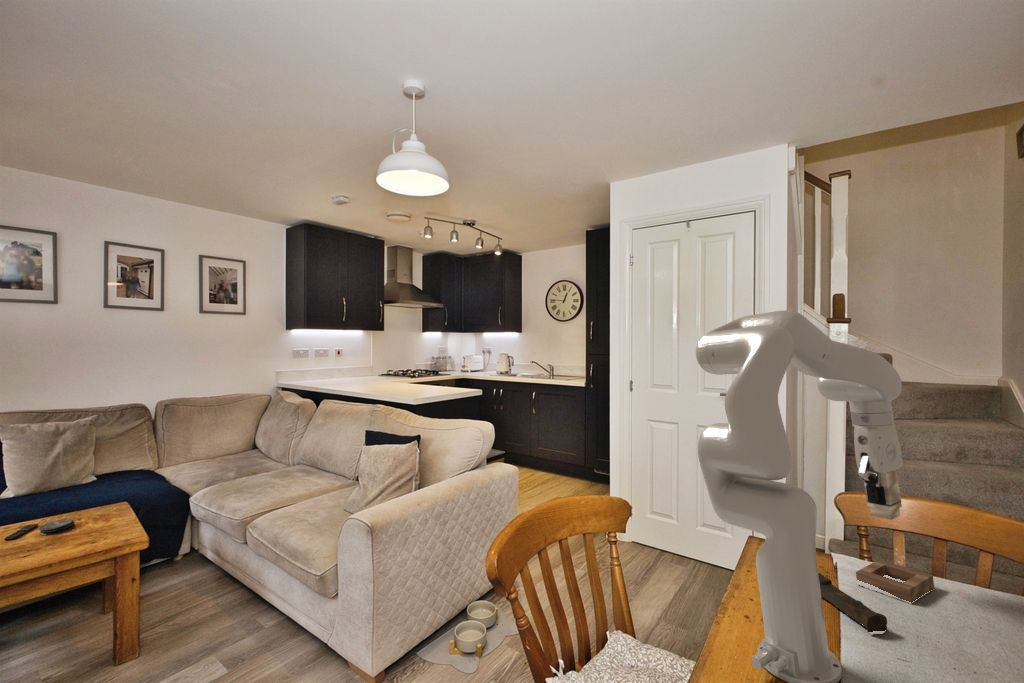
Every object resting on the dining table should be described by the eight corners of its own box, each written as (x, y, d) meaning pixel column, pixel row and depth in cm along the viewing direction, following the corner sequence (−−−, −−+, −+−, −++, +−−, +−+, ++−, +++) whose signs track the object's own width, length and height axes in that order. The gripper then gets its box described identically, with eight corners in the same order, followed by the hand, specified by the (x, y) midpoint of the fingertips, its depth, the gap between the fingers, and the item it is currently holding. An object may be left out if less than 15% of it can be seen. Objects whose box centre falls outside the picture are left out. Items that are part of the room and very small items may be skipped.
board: (911, 604, 94) (909, 589, 94) (857, 585, 103) (855, 571, 103) (934, 589, 98) (932, 575, 98) (880, 572, 107) (879, 559, 107)
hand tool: (891, 635, 85) (887, 610, 85) (870, 637, 85) (866, 612, 85) (821, 587, 104) (819, 566, 104) (804, 588, 104) (802, 568, 104)
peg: (892, 520, 98) (884, 465, 99) (868, 515, 102) (860, 461, 103) (903, 515, 100) (895, 461, 101) (879, 510, 104) (871, 458, 105)
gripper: (870, 426, 95) (883, 514, 94) (911, 415, 103) (923, 496, 102) (832, 423, 102) (843, 505, 101) (873, 413, 109) (884, 489, 108)
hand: (883, 500), depth 101 cm, fingers closed on peg, 4 cm apart
